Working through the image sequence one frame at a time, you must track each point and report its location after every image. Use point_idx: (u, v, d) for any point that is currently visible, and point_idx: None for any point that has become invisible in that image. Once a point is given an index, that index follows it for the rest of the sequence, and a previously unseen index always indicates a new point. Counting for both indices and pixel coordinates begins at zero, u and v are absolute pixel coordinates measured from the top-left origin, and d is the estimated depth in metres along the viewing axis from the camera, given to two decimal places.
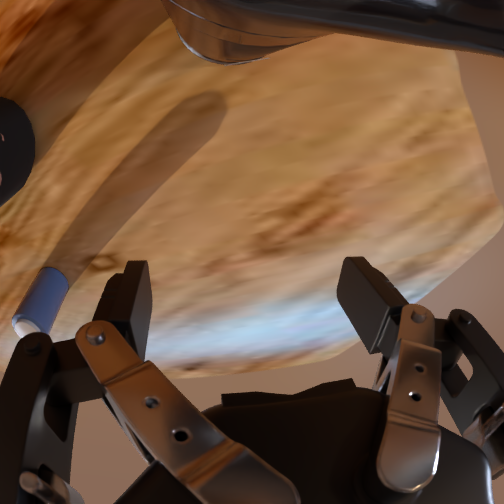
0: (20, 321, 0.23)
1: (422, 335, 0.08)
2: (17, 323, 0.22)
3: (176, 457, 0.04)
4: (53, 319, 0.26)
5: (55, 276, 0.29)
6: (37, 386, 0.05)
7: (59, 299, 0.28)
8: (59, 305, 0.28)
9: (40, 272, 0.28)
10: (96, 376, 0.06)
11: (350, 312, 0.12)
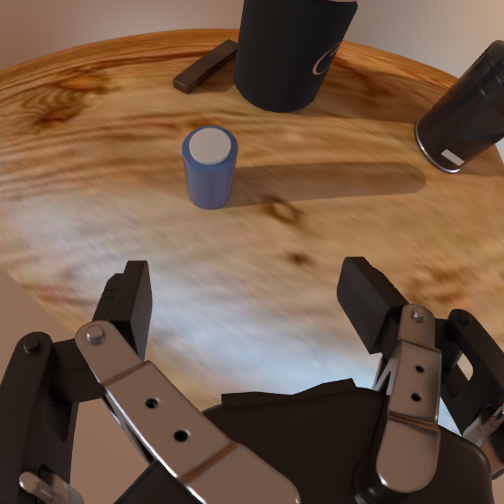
0: (221, 131, 0.23)
1: (422, 336, 0.08)
2: (213, 128, 0.23)
3: (176, 457, 0.04)
4: (225, 180, 0.25)
5: None
6: (37, 386, 0.05)
7: (229, 187, 0.27)
8: (224, 190, 0.27)
9: None
10: (97, 376, 0.06)
11: (350, 312, 0.12)
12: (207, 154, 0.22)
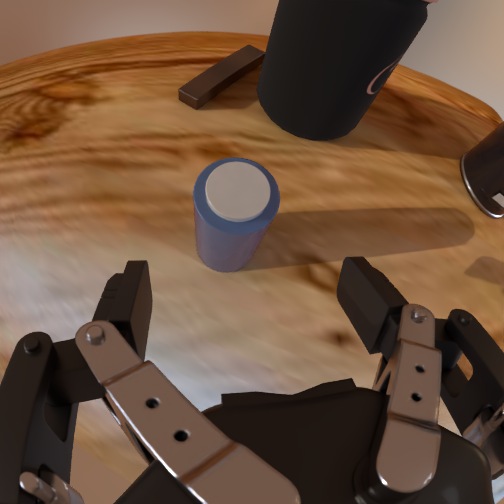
0: (254, 167, 0.15)
1: (421, 336, 0.08)
2: (243, 162, 0.15)
3: (176, 457, 0.04)
4: (256, 241, 0.17)
5: None
6: (37, 386, 0.05)
7: (257, 246, 0.20)
8: (251, 252, 0.19)
9: None
10: (97, 376, 0.06)
11: (350, 312, 0.12)
12: (234, 205, 0.14)
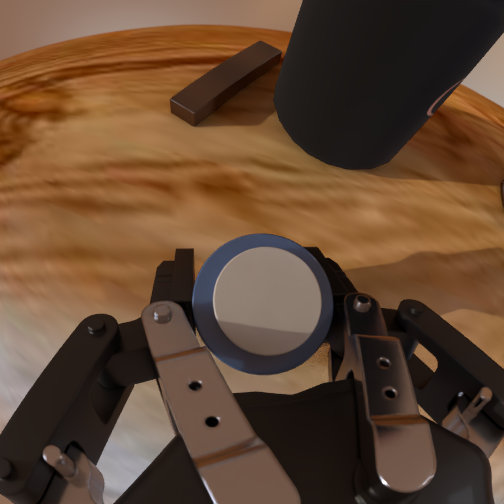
0: (295, 255, 0.09)
1: (372, 325, 0.08)
2: (276, 248, 0.09)
3: (200, 440, 0.04)
4: None
5: None
6: (91, 367, 0.06)
7: None
8: None
9: None
10: (152, 351, 0.07)
11: None
12: (264, 333, 0.08)
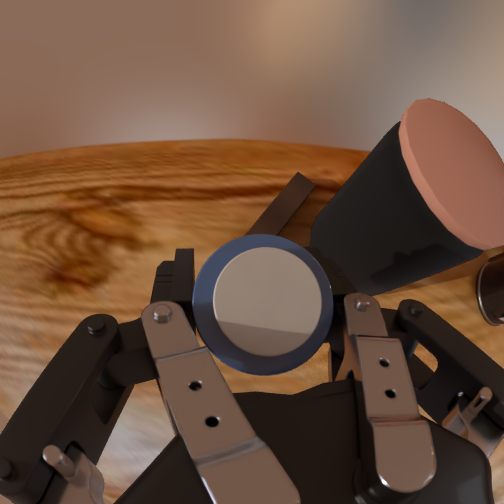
0: (295, 256, 0.09)
1: (372, 325, 0.08)
2: (276, 249, 0.09)
3: (200, 440, 0.04)
4: None
5: None
6: (91, 367, 0.06)
7: None
8: None
9: None
10: (152, 351, 0.07)
11: None
12: (264, 333, 0.08)
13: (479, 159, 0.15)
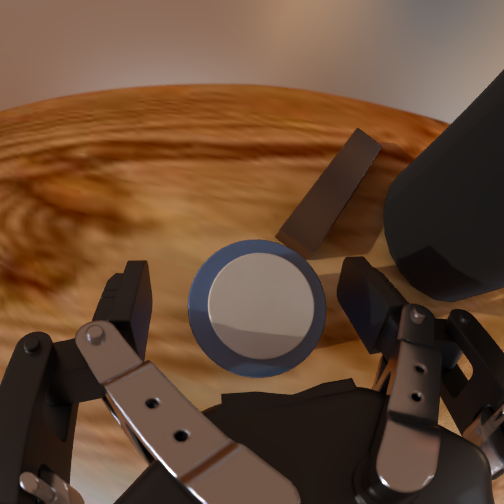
0: (289, 261, 0.09)
1: (422, 336, 0.08)
2: (269, 254, 0.09)
3: (176, 457, 0.04)
4: None
5: None
6: (37, 386, 0.05)
7: None
8: None
9: None
10: (97, 376, 0.06)
11: (350, 312, 0.12)
12: (258, 337, 0.09)
13: None
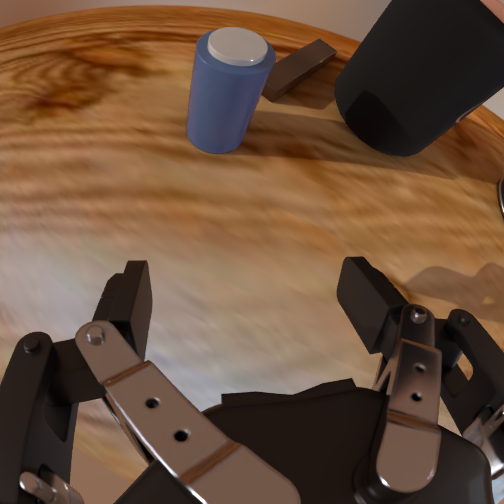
0: (254, 33, 0.14)
1: (422, 336, 0.08)
2: None
3: (176, 457, 0.04)
4: (250, 100, 0.16)
5: None
6: (37, 386, 0.05)
7: (248, 119, 0.18)
8: (242, 122, 0.18)
9: None
10: (97, 376, 0.06)
11: (350, 312, 0.12)
12: (234, 51, 0.13)
13: None
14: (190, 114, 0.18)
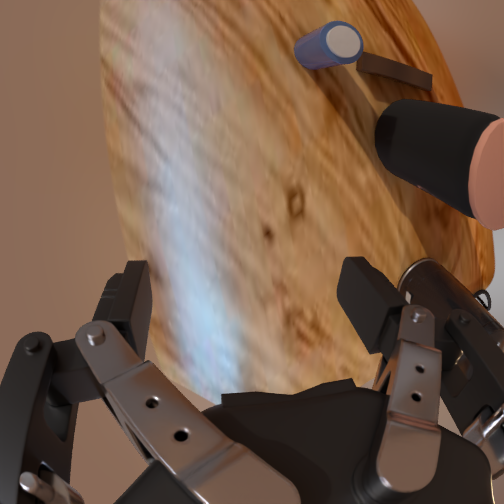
0: (360, 44, 0.21)
1: (422, 335, 0.08)
2: (358, 37, 0.21)
3: (176, 457, 0.04)
4: (325, 63, 0.24)
5: None
6: (37, 386, 0.05)
7: (323, 67, 0.27)
8: (318, 65, 0.26)
9: None
10: (97, 376, 0.06)
11: (350, 312, 0.12)
12: (335, 43, 0.21)
13: None
14: (303, 38, 0.25)
